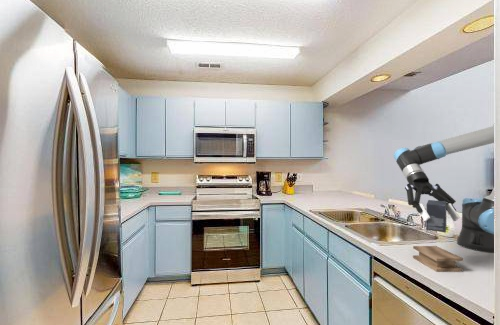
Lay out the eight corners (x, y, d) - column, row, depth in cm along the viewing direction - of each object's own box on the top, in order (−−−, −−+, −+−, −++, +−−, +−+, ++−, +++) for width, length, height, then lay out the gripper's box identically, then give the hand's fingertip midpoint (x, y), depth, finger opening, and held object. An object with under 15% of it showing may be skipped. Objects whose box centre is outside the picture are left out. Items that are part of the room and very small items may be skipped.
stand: (436, 257, 106) (436, 245, 106) (462, 271, 93) (462, 258, 93) (413, 257, 106) (413, 246, 106) (436, 271, 93) (436, 258, 93)
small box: (427, 223, 106) (427, 199, 106) (446, 226, 102) (447, 201, 101) (425, 229, 98) (425, 203, 97) (446, 232, 94) (446, 205, 93)
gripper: (436, 181, 115) (465, 224, 100) (386, 181, 114) (407, 224, 99) (446, 170, 109) (478, 214, 94) (393, 170, 109) (417, 214, 94)
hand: (442, 219), depth 97 cm, fingers closed on small box, 11 cm apart
